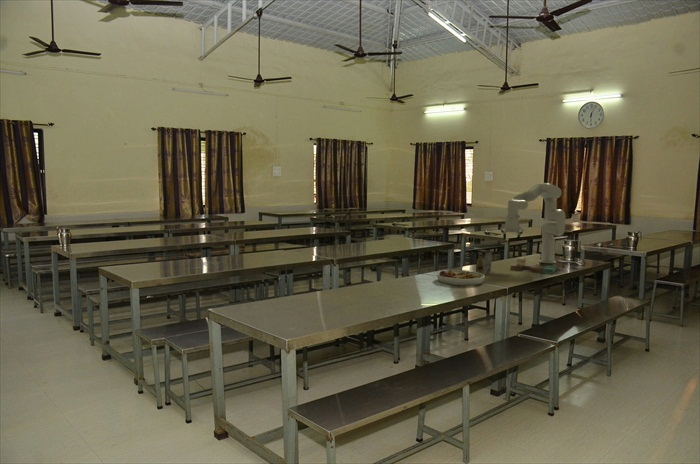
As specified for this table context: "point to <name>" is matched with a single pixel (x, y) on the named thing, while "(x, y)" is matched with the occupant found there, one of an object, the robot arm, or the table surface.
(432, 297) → the table surface
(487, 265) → the coffee box
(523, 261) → the birch block
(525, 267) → the trap board
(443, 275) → the bowl
